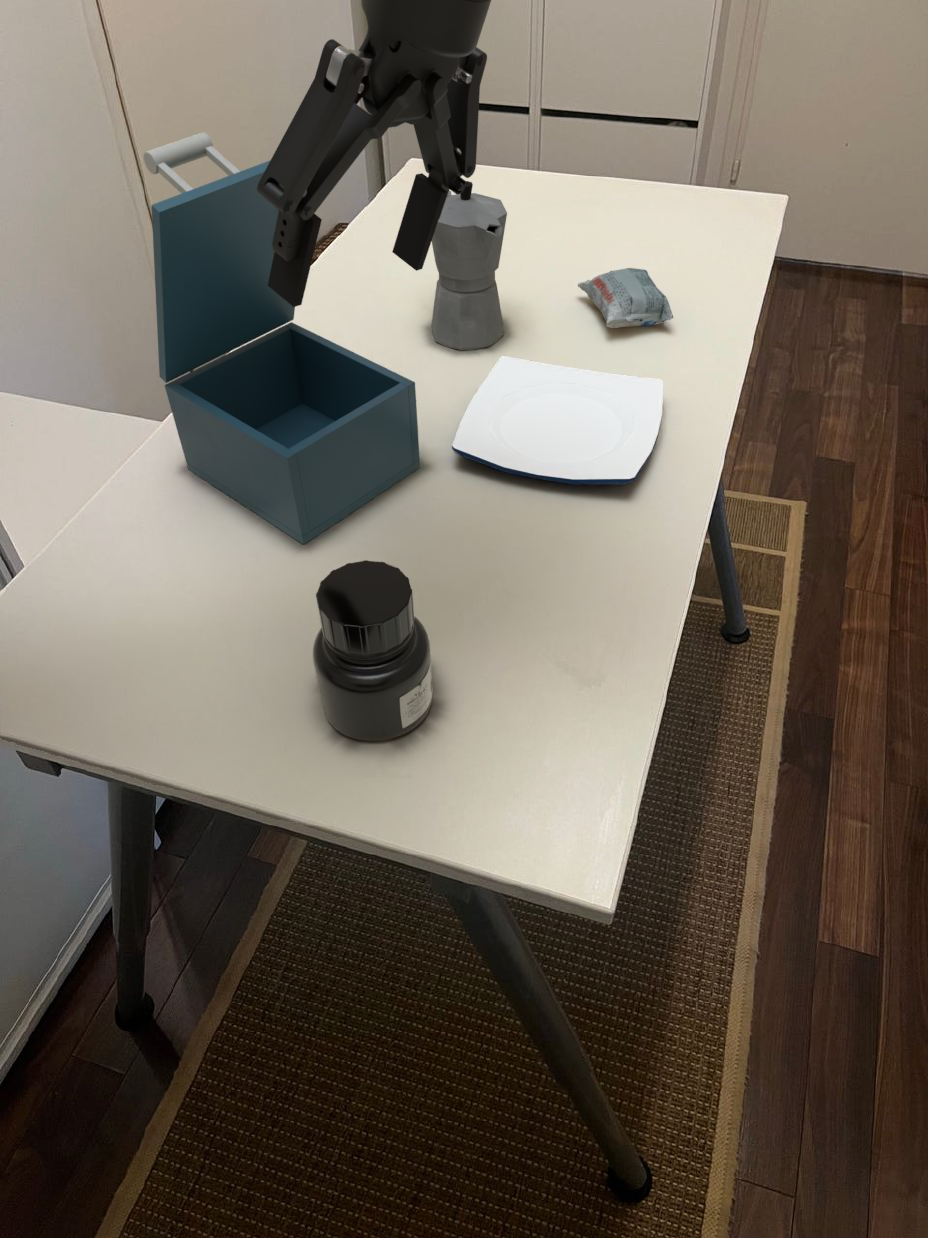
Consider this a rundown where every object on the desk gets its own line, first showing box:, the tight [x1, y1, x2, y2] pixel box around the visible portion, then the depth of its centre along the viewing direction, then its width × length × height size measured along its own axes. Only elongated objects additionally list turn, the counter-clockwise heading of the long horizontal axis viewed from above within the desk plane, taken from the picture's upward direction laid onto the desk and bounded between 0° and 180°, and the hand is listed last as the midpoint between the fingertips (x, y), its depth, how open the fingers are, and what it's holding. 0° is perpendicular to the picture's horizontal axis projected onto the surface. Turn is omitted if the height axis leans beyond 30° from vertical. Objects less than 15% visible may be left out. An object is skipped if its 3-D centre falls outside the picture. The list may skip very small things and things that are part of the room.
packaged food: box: [577, 267, 674, 329], centre depth 115 cm, size 9×12×5 cm
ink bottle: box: [312, 559, 434, 741], centre depth 70 cm, size 10×9×12 cm
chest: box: [164, 321, 421, 545], centre depth 92 cm, size 18×16×10 cm
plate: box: [451, 355, 665, 485], centre depth 98 cm, size 20×20×3 cm
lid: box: [143, 131, 307, 384], centre depth 85 cm, size 19×16×9 cm
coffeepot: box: [430, 180, 508, 351], centre depth 109 cm, size 15×9×18 cm, turn 32°
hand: (349, 277), depth 70 cm, fingers open, 13 cm apart
